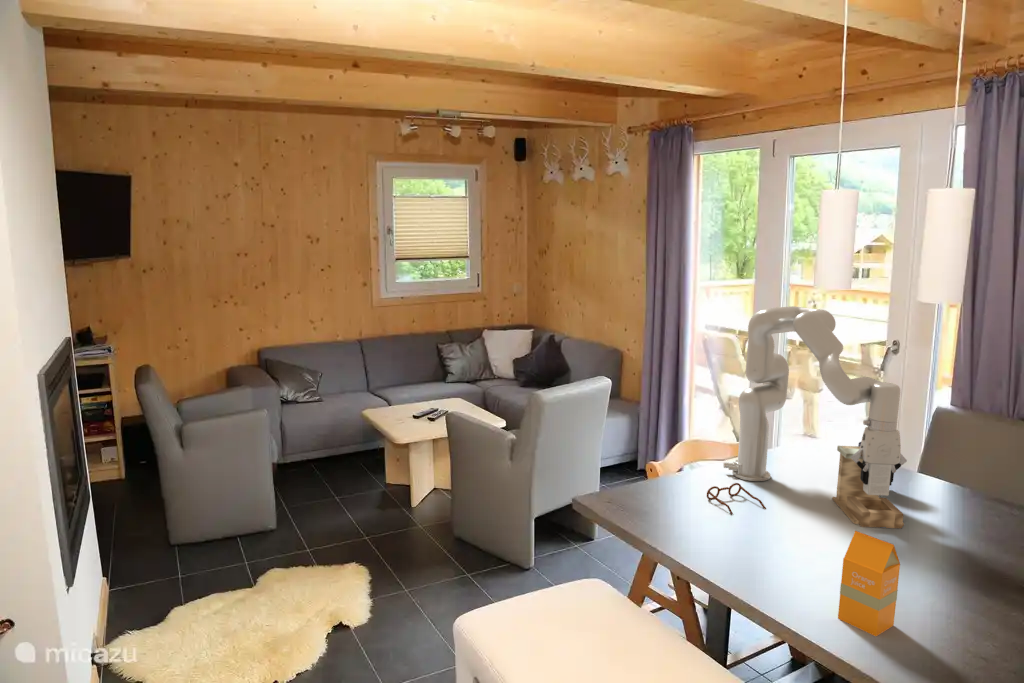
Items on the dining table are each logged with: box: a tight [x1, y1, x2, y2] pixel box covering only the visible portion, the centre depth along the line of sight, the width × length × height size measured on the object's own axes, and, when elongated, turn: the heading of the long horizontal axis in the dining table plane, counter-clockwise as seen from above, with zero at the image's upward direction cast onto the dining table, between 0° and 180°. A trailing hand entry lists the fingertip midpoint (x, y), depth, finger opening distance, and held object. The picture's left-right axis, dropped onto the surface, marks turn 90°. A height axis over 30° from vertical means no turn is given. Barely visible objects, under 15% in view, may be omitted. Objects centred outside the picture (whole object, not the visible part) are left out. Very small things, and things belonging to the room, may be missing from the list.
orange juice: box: [837, 530, 901, 637], centre depth 160 cm, size 8×9×20 cm
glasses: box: [706, 482, 767, 515], centre depth 227 cm, size 13×13×5 cm
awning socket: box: [831, 445, 905, 529], centre depth 220 cm, size 14×21×18 cm
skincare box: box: [863, 464, 891, 497], centre depth 215 cm, size 6×4×12 cm
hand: (876, 482), depth 216 cm, fingers closed on skincare box, 6 cm apart
